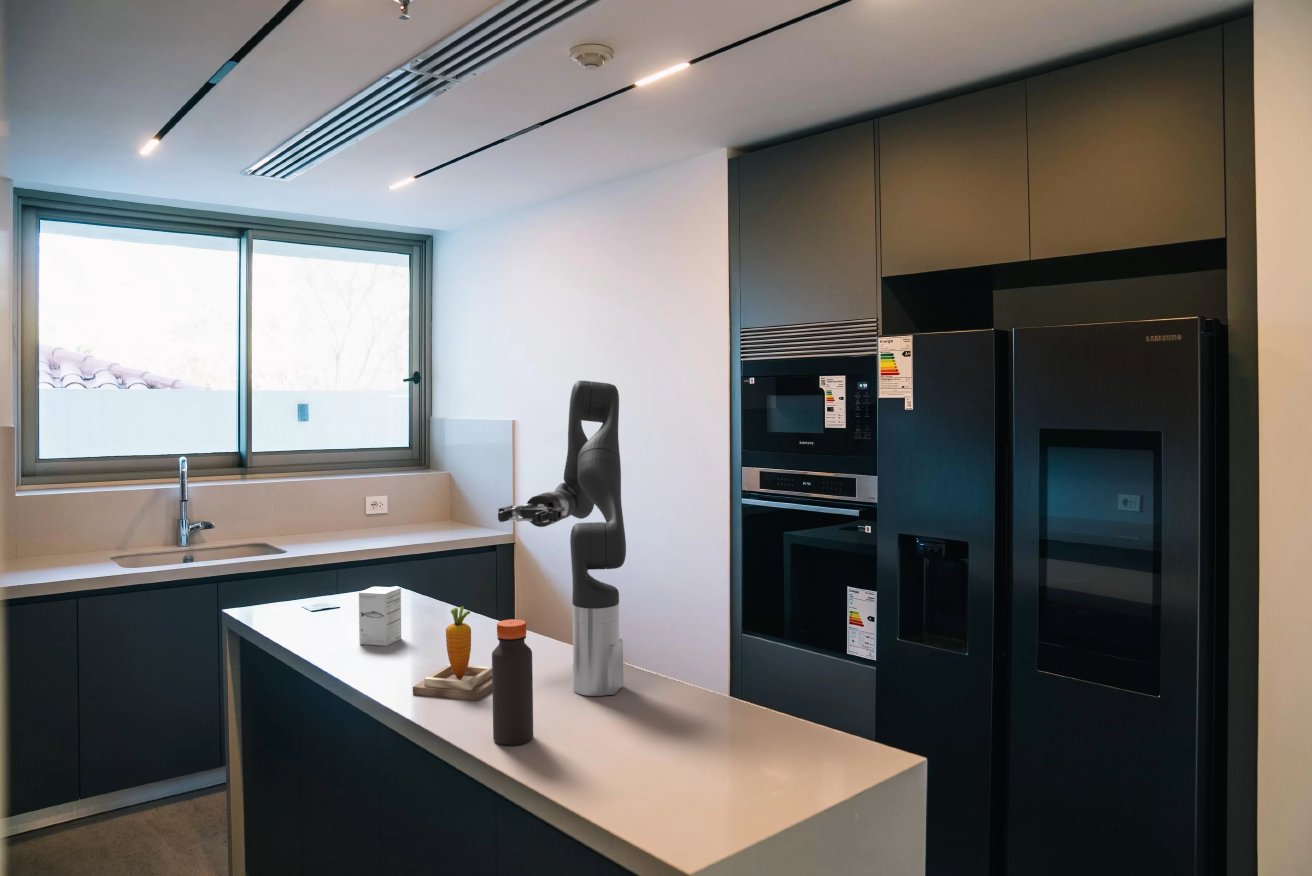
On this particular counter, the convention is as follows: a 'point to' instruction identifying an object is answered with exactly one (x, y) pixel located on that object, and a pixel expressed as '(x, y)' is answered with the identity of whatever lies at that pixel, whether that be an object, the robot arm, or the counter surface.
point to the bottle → (512, 685)
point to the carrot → (458, 643)
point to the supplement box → (380, 616)
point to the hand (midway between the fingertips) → (518, 517)
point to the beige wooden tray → (457, 683)
